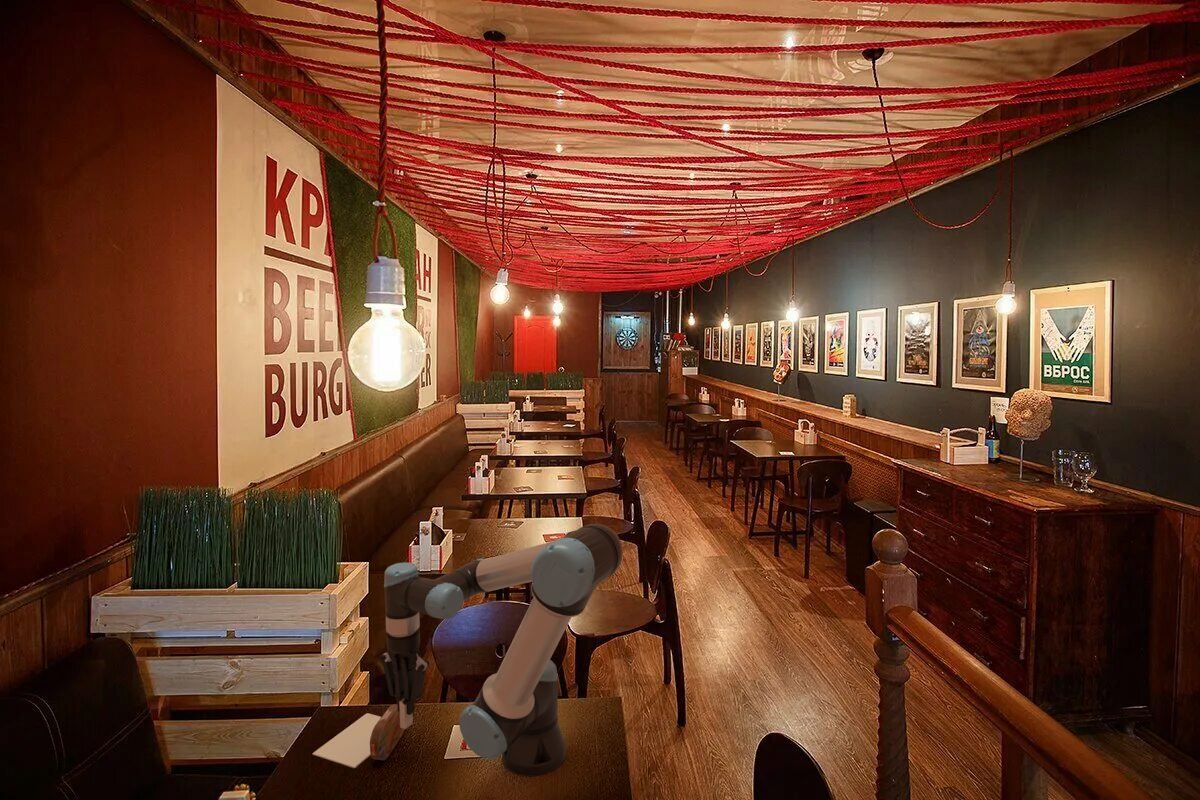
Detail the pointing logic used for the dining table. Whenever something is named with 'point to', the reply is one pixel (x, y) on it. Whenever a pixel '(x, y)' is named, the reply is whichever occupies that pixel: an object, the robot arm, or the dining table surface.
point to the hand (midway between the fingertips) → (406, 725)
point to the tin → (386, 734)
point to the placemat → (350, 743)
